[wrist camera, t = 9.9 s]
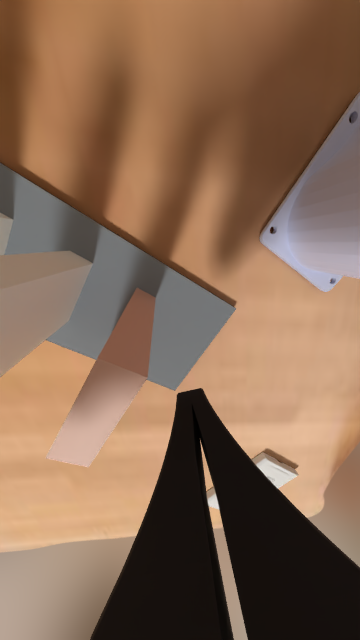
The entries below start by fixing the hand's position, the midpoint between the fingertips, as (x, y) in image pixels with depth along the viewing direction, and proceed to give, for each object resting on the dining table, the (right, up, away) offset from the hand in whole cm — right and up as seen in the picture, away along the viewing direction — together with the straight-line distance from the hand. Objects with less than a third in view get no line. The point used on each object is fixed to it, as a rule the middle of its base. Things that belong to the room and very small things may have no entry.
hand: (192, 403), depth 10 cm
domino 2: (-5, +5, +5) cm, 8 cm away
